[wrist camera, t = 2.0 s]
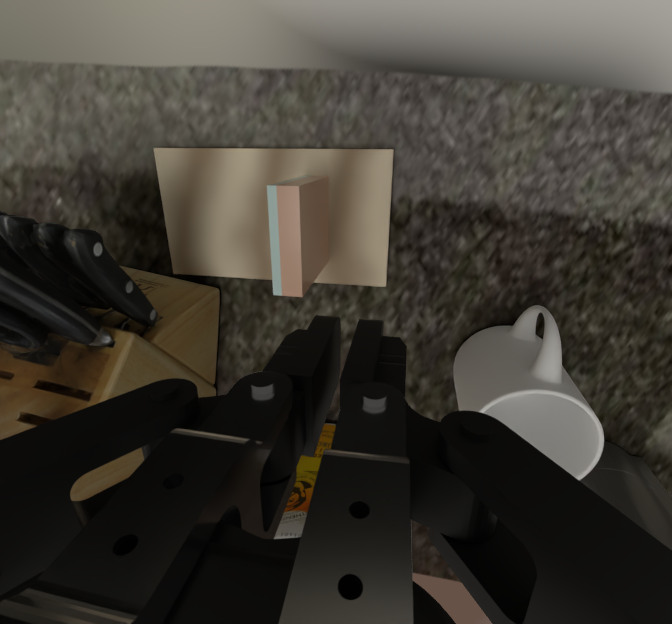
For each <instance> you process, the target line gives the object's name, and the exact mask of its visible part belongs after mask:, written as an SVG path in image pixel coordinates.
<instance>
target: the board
mask: <svg viewBox="0 0 672 624" xmlns="http://www.w3.org/2000/svg"><path fill="white" fill-rule="evenodd" d="M154 155H155V161H156V167H157V173H158V180H159V186H160V192H161V199H162V205H163V211H164V217H165V224H166V230H167V236H168V243H169V249H170V255H171V261H172V268H173V274H186V275H202V276H218V277H234V278H251V279H267V280H272V264H271V248H270V231H269V214H268V198H267V185H270V184H274V183H278V182H282V181H286V180H290V179H293V178H297V177H301V176H329V262H328V263H327V265H326V266H325V267H324V269H323V270H322V271H321V273H320V274H319V275H318V277H317V278H316V279H315V281H314V282H315V283H331V284H348V285H364V286H380V287H386V282H387V264H388V246H389V228H390V210H391V192H392V174H393V157H394V149H253V148H154Z"/></svg>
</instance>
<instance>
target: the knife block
mask: <svg viewBox="0 0 672 624" xmlns="http://www.w3.org/2000/svg"><path fill="white" fill-rule="evenodd" d="M219 304H220V291H219V289H217V288H215V287H211V286H206V285H202V284H198V283H193V282H189V281H185V280H180V279H176V278H172V277H167V276H163V275H159V274H154V273H150V272H145V271H141V270H137V269H132V268H128V267H123V266H119V265H118V264H117V263H116V261H115V260H114V259H113V258H112V257H111V256H110V254H109V253H108V251H107V250H106V248H105V247H104V244H103V240H102V237H101V235H100V234H99V233H97V232H96V231H93V230H90V229H71V230H70V229H68V228H67V227H65V226H63V225H61V224H57V223H40V224H38V223H37V222H36V221H35V220H34V219H32V218H27V217H22V216H16V215H7V214H6V213H5V212H2V211H0V440H2V439H4V438H7V437H10V436H12V435H15V434H18V433H20V432H23V431H26V430H28V429H31V428H34V427H36V426H39V425H42V424H44V423H47V422H50V421H52V420H55V419H58V418H60V417H63V416H66V415H68V414H71V413H73V412H76V411H79V410H81V409H84V408H87V407H89V406H92V405H95V404H97V403H100V402H103V401H105V400H108V399H111V398H113V397H116V396H119V395H121V394H124V393H127V392H129V391H132V390H135V389H137V388H140V387H143V386H145V385H148V384H150V383H153V382H156V381H160V380H164V379H172V378H180V379H186V380H189V381H192V382H193V383H194V384H195V385H196V386H197V390H198V397H199V398H200V397H210V396H216V389H215V387H214V386H213V385H214V384H215V375H216V360H217V342H218V324H219ZM143 461H144V456H143V452H142V448H139V449H137V450H135V451H133V452H130V453H128V454H126V455H124V456H122V457H120V458H118V459H116V460H114V461H111V462H109V463H107V464H105V465H103V466H101V467H99V468H97V469H94V470H92V471H90V472H88V473H86V474H84V475H83V476H82V477H80V478H79V479H78V480H77V481H76V482H75V483H74V485H73V487H72V489H71V492H70V497H71V500H72V501H81V500H85V499H87V498H89V497H91V496H93V495H95V494H97V493H99V492H101V491H103V490H105V489H107V488H109V487H111V486H113V485H115V484H117V483H119V482H121V481H123V480H125V479H127V478H128V477H130V476H131V474H132V473H133V472H134V471H135V470H136V469H137V468H138V467H139V466H140V464H141V463H142V462H143Z"/></svg>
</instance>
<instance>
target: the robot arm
mask: <svg viewBox="0 0 672 624" xmlns="http://www.w3.org/2000/svg"><path fill="white" fill-rule="evenodd" d="M383 324H384V322H383V320H371V319H359V322H358V325H357V328H356V331H355V334H354V337H353V340H352V344H351V347H350V350H349V353H348V356H347V359H346V363H345V366H344V369H343V372H342V375H341V378H340V411H339V415H338V419H337V423H336V428H335V432H334V436H333V440H332V444H331V449H326V448H325V449H324V452H323V454H322V458H321V462H320V466H319V469H318V473H317V477H316V481H315V485H314V489H313V493H312V496H311V500H310V504H309V508H308V512H307V516H306V520H305V523H304V527H303V531H302V535H301V537H296V538H282V539H274V537H275V534H276V532H277V529H278V526H279V524H280V521H281V519H282V516H283V514H284V511H285V508H286V506H287V503H288V501H289V498H290V496H291V493H292V490H293V488H294V485H295V483H296V479H297V465H298V463H299V460H300V457H301V455H302V456H309V457H314V454H315V451H316V448H317V445H318V442H319V439H320V436H321V433H322V430H323V427H324V423H325V420H326V417H327V414H328V411H329V408H330V405H331V402H332V399H333V396H334V393H335V389H336V386H337V383H338V379H339V372H340V333H341V324H340V318H339V317H331V316H318V315H316V316H315V317H314V319H313V321H312V322H311V324H310V326H309V327H308V329H307V330H301V329H297V330H295V331H294V332H292V333H290V334H289V335H287V336H286V337H285V338H284V340H283V341H282V343H281V344H280V346H279V347H278V349H277V350H276V353H274V355H273V356H272V358H271V359H270V361H269V362H268V364H267V365H266V366H265V368H264V369H263V371H261V372H255V373H252V374H249V375H246V376H244V377H242V378H241V379H239V380H238V381H237V382H236V383H235V384H234V385H233V387H232V388H231V389H230V390H229V391H228V393H227V394H226V395H221V396H210V397H200V398H199V397H198V390H197V386H196V385H195V384H194V383H193V382H192V381H189V380H186V379H180V378H172V379H164V380H160V381H156V382H153V383H150V384H148V385H145V386H143V387H140V388H137V389H135V390H132V391H129V392H127V393H124V394H121V395H119V396H116V397H113V398H111V399H108V400H105V401H103V402H100V403H97V404H95V405H92V406H89V407H87V408H84V409H81V410H79V411H76V412H73V413H71V414H68V415H66V416H63V417H60V418H58V419H55V420H52V421H50V422H47V423H44V424H42V425H39V426H36V427H34V428H31V429H28V430H26V431H23V432H20V433H18V434H15V435H12V436H10V437H7V438H4V439H2V440H0V624H456V623H455V622H454V621H453V619H452V618H451V617H450V616H449V615H448V613H447V612H446V611H445V610H444V609H443V608H442V607H441V605H440V604H439V603H438V602H437V601H436V600H435V599H434V598H433V597H432V596H431V595H430V594H428V593H427V592H426V591H425V590H424V589H423V588H422V587H420V586H419V585H418V584H416V583H415V582H414V581H413V580H412V540H411V519H412V520H414V521H416V522H418V523H420V524H423V525H425V526H427V532H428V536H429V538H430V540H431V542H432V543H433V545H434V546H435V547H436V549H437V550H438V551H439V553H440V554H441V555H442V557H443V558H444V559H445V561H446V562H447V563H448V565H449V566H450V567H451V569H452V570H453V571H454V573H455V574H456V575H457V577H458V578H459V579H460V581H461V582H462V583H463V585H464V586H465V588H466V589H467V590H468V591H469V593H470V594H471V596H472V597H473V598H474V600H475V601H476V602H477V604H478V605H479V606H480V607H481V609H482V610H483V612H484V613H485V614H486V616H487V617H488V618H489V620H490V621H491V622H492V623H493V624H672V499H671V497H670V496H669V495H668V493H667V492H666V490H665V489H664V488H663V486H662V485H661V484H660V482H659V481H658V480H657V478H656V477H655V475H654V474H653V473H652V471H651V470H650V469H649V467H648V466H647V465H646V463H645V462H644V460H643V459H642V458H641V457H636V456H631V455H629V454H627V453H626V452H625V451H623V450H622V449H621V448H620V447H618V446H616V445H614V444H612V443H610V442H607V441H604V447H603V451H602V454H601V457H600V459H599V461H598V462H597V464H596V465H595V467H594V468H593V469H592V470H591V471H590V472H589V473H588V474H587V475H586V476H585V477H583V478H582V479H581V480H578V479H576V478H575V477H574V476H572V475H571V474H570V473H568V472H567V471H566V470H564V469H563V468H562V467H560V466H559V465H558V464H556V463H555V462H554V461H552V460H551V459H550V458H548V457H547V456H546V455H544V454H543V453H542V452H540V451H539V450H538V449H537V448H535V447H534V446H533V445H531V444H530V443H529V442H527V441H526V440H525V439H523V438H522V437H521V436H519V435H518V434H517V433H515V432H514V431H513V430H511V429H510V428H509V427H507V426H506V425H505V424H503V423H502V422H500V421H499V420H498V419H496V418H494V417H492V416H489V415H487V414H484V413H481V412H476V411H467V410H462V411H455V412H452V413H449V414H447V415H446V416H444V418H443V419H442V420H441V422H437V421H434V420H431V419H429V418H426V417H424V416H422V415H420V414H418V413H417V412H415V411H414V410H413V409H412V408H411V407H410V406H409V405H408V403H407V402H406V399H405V377H406V349H407V346H406V345H405V344H404V342H403V341H402V340H401V339H400V338H399V337H387V336H383ZM139 448H142V452H143V456H144V461H143V462H142V463H141V464H140V466H139V467H138V468H137V469H136V470H135V471H134V472H133V473H132V474H131V476H130V477H128V478H127V479H125V480H123V481H121V482H119V483H117V484H115V485H113V486H111V487H109V488H107V489H105V490H103V491H101V492H99V493H97V494H95V495H93V496H91V497H89V498H87V499H85V500H81V501H72V500H71V497H70V492H71V489H72V487H73V485H74V483H75V482H76V481H77V480H78V479H79V478H80V477H82V476H83V475H84V474H86V473H88V472H90V471H92V470H94V469H97V468H99V467H101V466H103V465H105V464H107V463H109V462H111V461H114V460H116V459H118V458H120V457H122V456H124V455H126V454H128V453H130V452H133V451H135V450H137V449H139Z"/></svg>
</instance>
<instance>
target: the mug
mask: <svg viewBox="0 0 672 624" xmlns="http://www.w3.org/2000/svg"><path fill="white" fill-rule="evenodd" d="M540 312H541V313H542V314H543V316H544V321H545V328H544V336H543V340H542V339H541V338H540V337H539V336H537V335H536V334H535V332H536V321H537V317H538V314H539V313H540ZM453 376H454V384H455V389H456V395H457V401H458V407H459V411H462V410H467V411H476V412H481V413H484V414H487V415H489V416H492V417H494V418H496V419H498V420H499V421H500V422H502V423H503V424H505V425H506V426H507V427H509V428H510V429H511V430H513V431H514V432H515V433H517V434H518V435H519V436H521V437H522V438H523V439H525V440H526V441H527V442H529V443H530V444H531V445H533V446H534V447H535V448H537V449H538V450H539V451H540V452H542V453H543V454H544V455H546V456H547V457H548V458H550V459H551V460H552V461H554V462H555V463H556V464H558V465H559V466H560V467H562V468H563V469H564V470H566V471H567V472H568V473H570V474H571V475H572V476H574V477H575V478H576V479H578V480H581V479H582V478H583V477H585V476H586V475H587V474H588V473H589V472H590V471H591V470H592V469H593V468H594V467H595V465H596V464H597V462H598V461H599V459H600V457H601V454H602V451H603V447H604V433H603V429H602V426H601V423H600V421H599V419H598V417H597V416H596V415H595V413H594V412H593V410H592V409H591V407H590V406H589V404H588V403H587V401H586V400H585V398H584V397H583V395H582V394H581V392H580V391H579V390H578V388H577V387H576V385H575V384H574V382H573V381H572V379H571V378H570V376H569V375H568V373H567V372H566V370H565V369H564V367H563V366H562V349H561V340H560V335H559V331H558V327H557V325H556V322H555V320H554V318H553V316H552V315H551V313H550V312H549V311H548V310H547V309H546V308H544V307H543V306H540V305H535V306H531V307H530V308H528V309H526V310H525V311H524V312H523V313H522V314H521V315H520V316H519V318H518V319H517V320H516V322H515V323H514V325H513V326H495V327H490V328H487V329H484V330H481V331H479V332H477V333H476V334H474V335H472V336H471V337H470V338H468V339H467V340H466V341H465V342H464V343H463V344H462V346H461V347H460V349H459V350H458V352H457V354H456V357H455V360H454V365H453Z"/></svg>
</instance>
